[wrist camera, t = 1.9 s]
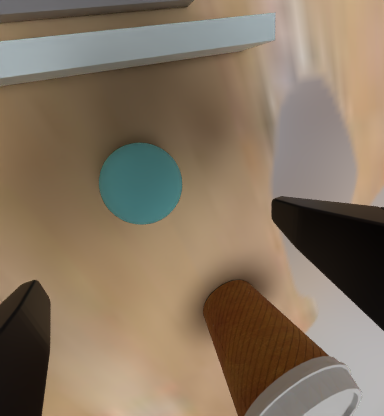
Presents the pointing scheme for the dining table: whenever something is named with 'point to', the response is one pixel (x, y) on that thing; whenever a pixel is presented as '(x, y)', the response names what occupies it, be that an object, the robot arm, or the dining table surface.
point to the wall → (129, 47)
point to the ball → (140, 183)
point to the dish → (77, 8)
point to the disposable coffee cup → (274, 359)
